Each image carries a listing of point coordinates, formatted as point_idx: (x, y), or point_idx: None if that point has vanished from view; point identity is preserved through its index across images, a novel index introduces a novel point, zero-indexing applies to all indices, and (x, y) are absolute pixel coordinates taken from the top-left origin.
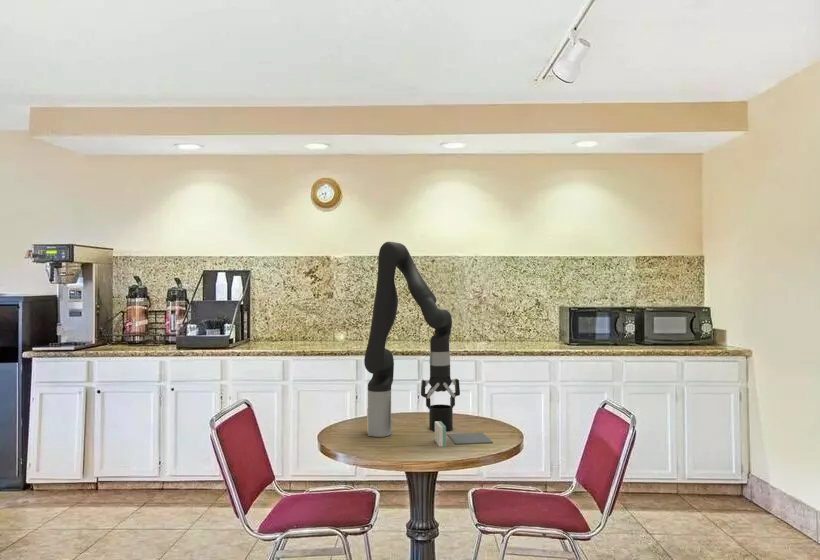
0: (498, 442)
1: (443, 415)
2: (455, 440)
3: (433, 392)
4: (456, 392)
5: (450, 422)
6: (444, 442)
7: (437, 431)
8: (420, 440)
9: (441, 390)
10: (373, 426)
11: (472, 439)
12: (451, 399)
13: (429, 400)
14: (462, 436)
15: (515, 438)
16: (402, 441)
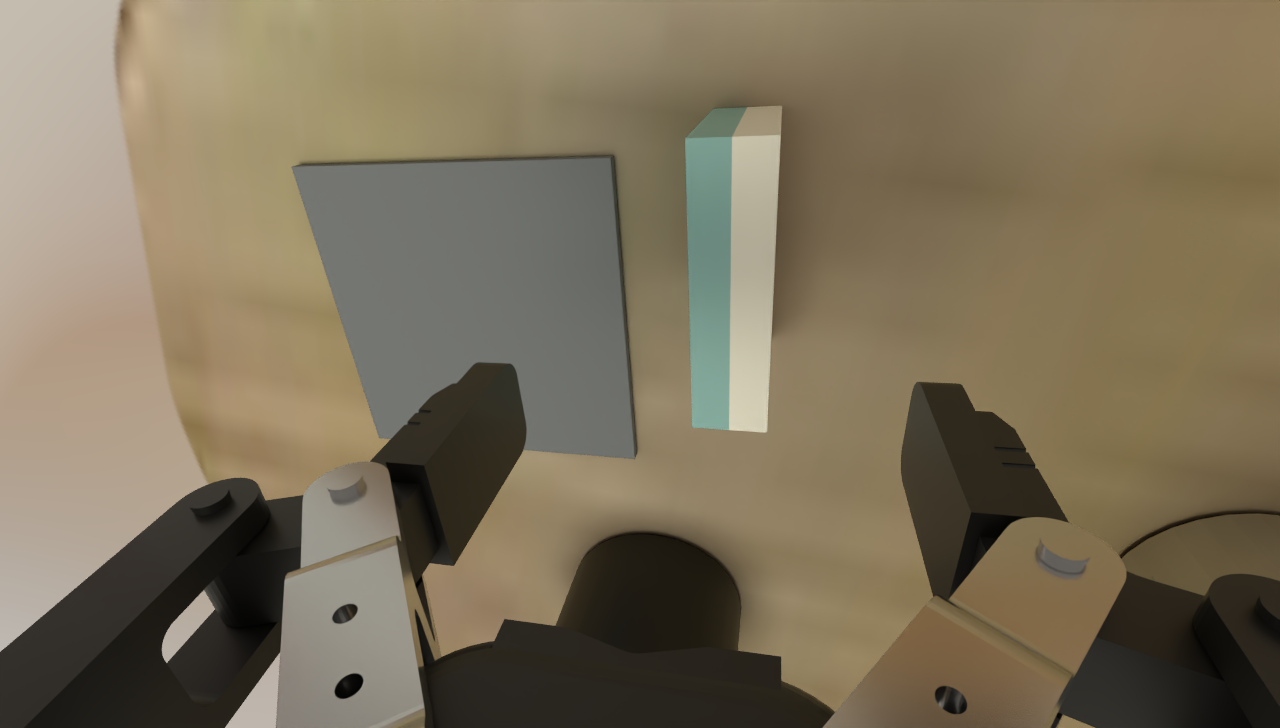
0: (259, 184)
1: (622, 636)
2: (596, 256)
3: (928, 621)
4: (231, 554)
5: (579, 590)
6: (725, 112)
7: (775, 246)
8: (908, 348)
9: (607, 665)
10: None
11: (451, 265)
12: (441, 444)
13: (986, 482)
14: (525, 364)
15: (158, 277)
16: (1105, 346)
